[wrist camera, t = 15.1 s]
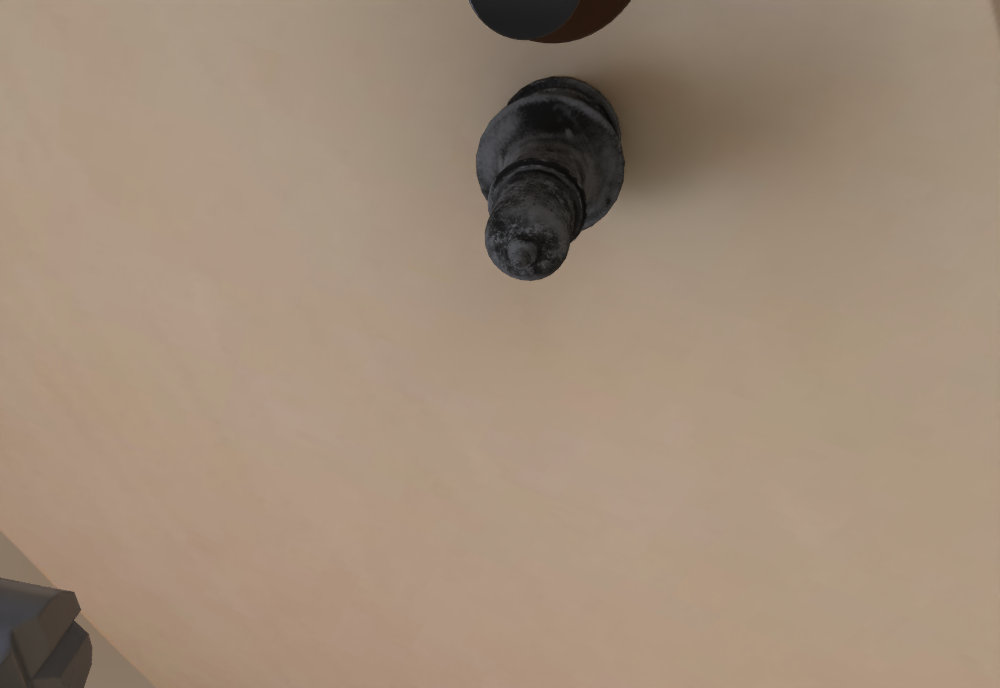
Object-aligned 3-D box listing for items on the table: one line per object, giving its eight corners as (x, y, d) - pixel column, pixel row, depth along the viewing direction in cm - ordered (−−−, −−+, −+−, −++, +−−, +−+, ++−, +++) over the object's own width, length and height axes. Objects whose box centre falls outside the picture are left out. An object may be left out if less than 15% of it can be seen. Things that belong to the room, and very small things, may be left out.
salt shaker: (544, 227, 39) (502, 373, 29) (463, 122, 37) (389, 242, 27) (655, 155, 37) (651, 290, 27) (574, 39, 35) (537, 137, 25)
